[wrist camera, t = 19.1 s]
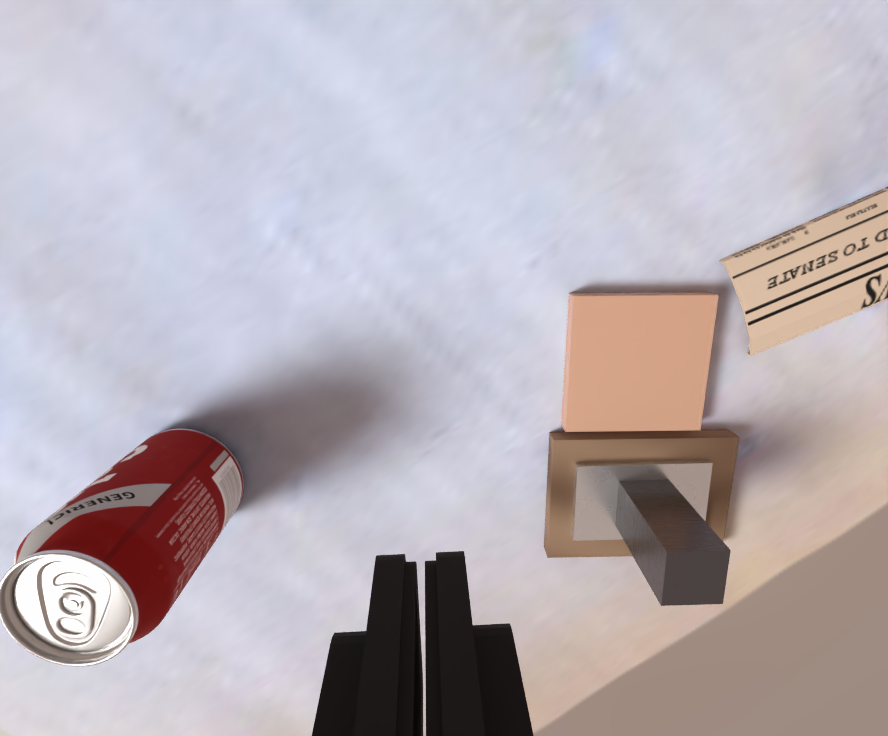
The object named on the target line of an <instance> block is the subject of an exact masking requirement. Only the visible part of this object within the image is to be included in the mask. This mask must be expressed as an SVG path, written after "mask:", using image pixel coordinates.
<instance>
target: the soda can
mask: <svg viewBox="0 0 888 736" xmlns="http://www.w3.org/2000/svg"><path fill="white" fill-rule="evenodd" d="M243 491H244V479H243V473H242V470H241V467H240V465H239V463H238V461H237V459H236V458H235V456H234V455H233V453H232V452H231V451H230V450H229V449H228V448H227V447H226V446H225V445H224V444H223V443H221V442H220V441H219V440H217V439H216V438H214V437H212V436H210V435H208V434H206V433H203V432H200V431H197V430H192V429H170V430H165V431H162V432H159V433H157V434H155V435H153V436H151V437H150V438H148V439H147V440H146V441H144V442H143V443H142V444H141V445H139V446H138V447H137V448H136V449H134V450H133V451H132V452H130V453H129V454H128V455H127V456H125V457H124V458H123V459H122V460H120V461H119V462H118V463H117V464H115V465H114V466H113V467H112V468H110V469H109V470H108V471H106V472H105V473H104V474H103V475H101V476H100V477H99V478H98V479H96V480H95V481H94V482H93V483H91V484H90V485H89V486H88V487H86V488H85V489H84V490H82V491H81V492H80V493H79V494H77V495H76V496H75V497H74V498H72V499H71V500H70V501H69V502H67V503H66V504H65V505H64V506H62V507H61V508H60V509H58V510H57V511H56V512H55V513H53V514H52V515H51V516H50V517H48V518H47V519H46V520H45V521H43V522H42V523H41V524H40V525H38V526H37V527H36V528H35V529H33V530H32V531H31V532H30V533H29V534H28V535H27V536H26V537H25V539H24V540H23V542H22V543H21V544H20V546H19V548H18V550H17V553H16V555H15V559H14V563H13V567H12V568H11V569H10V570H9V571H8V572H7V573H6V574H5V576H4V577H3V579H2V581H1V583H0V619H1V621H2V623H3V625H4V627H5V628H6V630H7V631H8V633H9V634H10V635H11V636H12V638H13V639H14V640H15V641H16V642H17V643H18V644H20V645H21V646H22V647H23V648H25V649H26V650H27V651H29V652H30V653H32V654H34V655H36V656H37V657H40V658H42V659H44V660H47V661H49V662H53V663H56V664H61V665H67V666H90V665H95V664H99V663H102V662H105V661H107V660H109V659H111V658H113V657H114V656H116V655H117V654H119V653H120V652H121V651H122V650H123V649H124V648H125V647H126V646H127V645H128V643H131V642H134V641H136V640H138V639H140V638H142V637H144V636H145V635H147V634H149V633H150V632H151V631H152V630H154V629H155V628H156V627H157V626H158V625H159V624H160V622H161V621H162V620H163V619H164V617H165V616H166V614H167V613H168V611H169V610H170V608H171V607H172V605H173V604H174V602H175V601H176V599H177V598H178V596H179V595H180V593H181V592H182V590H183V589H184V587H185V586H186V584H187V583H188V581H189V580H190V578H191V577H192V575H193V574H194V572H195V571H196V569H197V568H198V566H199V565H200V563H201V562H202V560H203V559H204V557H205V556H206V554H207V553H208V551H209V550H210V548H211V547H212V545H213V544H214V542H215V541H216V539H217V538H218V536H219V535H220V533H221V532H222V530H223V529H224V527H225V526H226V524H227V523H228V521H229V520H230V518H231V517H232V515H233V514H234V512H235V511H236V509H237V508H238V506H239V504H240V502H241V499H242V496H243Z"/></svg>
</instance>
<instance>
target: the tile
mask: <svg viewBox="0 0 888 736" xmlns="http://www.w3.org/2000/svg"><path fill="white" fill-rule="evenodd" d="M718 296H719V295H717V294H713V293H710V292H672V293H569V300H568V317H567V334H566V351H565V367H564V384H563V401H562V418H561V425H562V427H563V428H564V430H565V432H594V431H684V430H701V423H702V415H703V408H704V400H705V393H706V386H707V378H708V371H709V363H710V356H711V348H712V341H713V334H714V326H715V319H716V311H717V304H718Z"/></svg>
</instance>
